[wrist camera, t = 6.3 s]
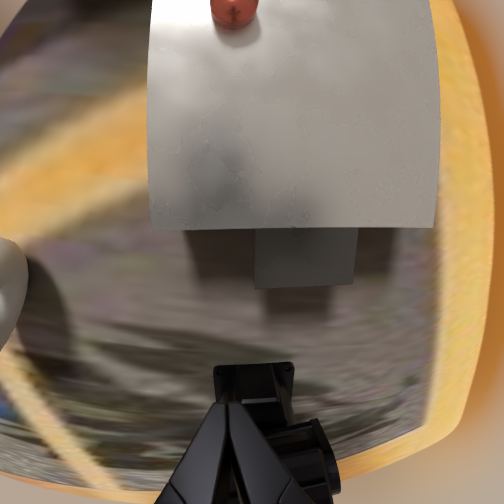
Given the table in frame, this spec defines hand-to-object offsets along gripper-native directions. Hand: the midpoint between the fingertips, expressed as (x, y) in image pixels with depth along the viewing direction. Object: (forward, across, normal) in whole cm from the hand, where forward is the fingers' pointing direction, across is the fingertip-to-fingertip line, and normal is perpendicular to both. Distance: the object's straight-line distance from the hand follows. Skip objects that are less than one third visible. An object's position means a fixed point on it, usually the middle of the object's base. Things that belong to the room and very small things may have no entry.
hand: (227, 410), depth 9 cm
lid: (+8, -4, -10) cm, 13 cm away
